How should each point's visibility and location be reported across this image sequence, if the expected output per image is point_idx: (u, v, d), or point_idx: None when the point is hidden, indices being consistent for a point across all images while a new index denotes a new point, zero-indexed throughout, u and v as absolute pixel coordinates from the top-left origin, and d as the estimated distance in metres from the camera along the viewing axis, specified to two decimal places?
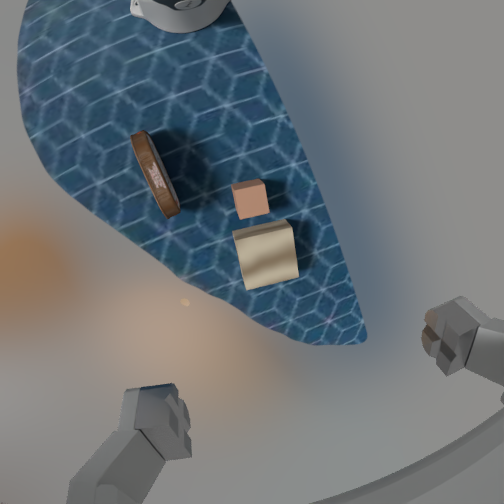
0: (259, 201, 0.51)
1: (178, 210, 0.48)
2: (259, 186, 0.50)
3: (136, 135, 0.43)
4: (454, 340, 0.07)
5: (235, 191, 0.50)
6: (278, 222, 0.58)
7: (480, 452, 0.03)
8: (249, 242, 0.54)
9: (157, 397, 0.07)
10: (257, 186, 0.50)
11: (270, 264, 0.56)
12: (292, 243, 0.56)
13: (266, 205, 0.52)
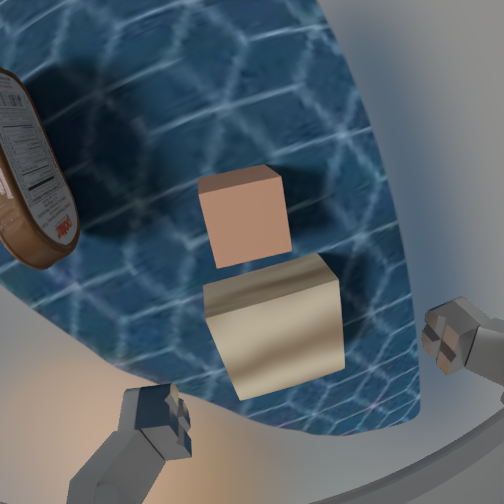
0: (266, 224, 0.20)
1: (57, 252, 0.16)
2: (267, 183, 0.19)
3: None
4: (454, 340, 0.07)
5: (202, 196, 0.18)
6: (303, 263, 0.26)
7: (480, 452, 0.03)
8: (239, 320, 0.23)
9: (157, 397, 0.07)
10: (262, 183, 0.19)
11: (287, 355, 0.25)
12: (337, 312, 0.24)
13: (284, 232, 0.20)
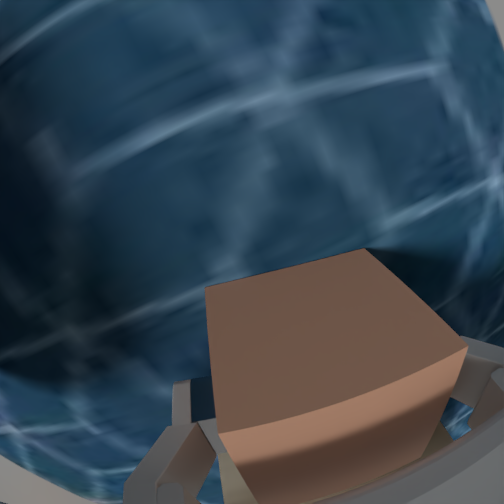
0: (395, 443, 0.06)
1: None
2: (433, 370, 0.05)
3: None
4: None
5: (230, 436, 0.05)
6: None
7: (480, 452, 0.03)
8: None
9: (211, 388, 0.08)
10: (421, 374, 0.05)
11: None
12: None
13: (422, 441, 0.06)
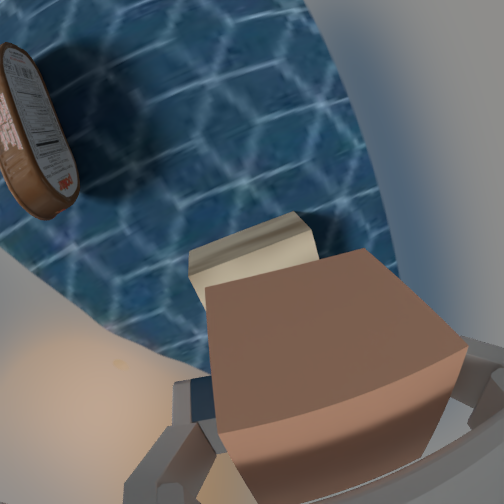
0: (395, 442, 0.06)
1: (58, 200, 0.18)
2: (434, 370, 0.05)
3: None
4: None
5: (230, 436, 0.05)
6: (280, 220, 0.27)
7: (480, 452, 0.03)
8: (220, 276, 0.24)
9: (211, 388, 0.08)
10: (421, 374, 0.05)
11: None
12: None
13: (422, 441, 0.06)
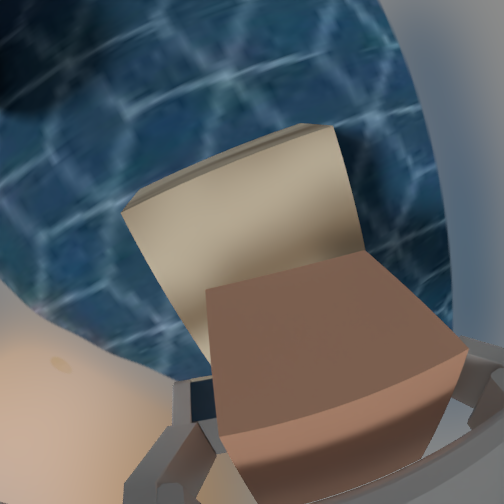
0: (395, 444, 0.06)
1: None
2: (434, 373, 0.05)
3: None
4: None
5: (231, 439, 0.05)
6: (280, 132, 0.16)
7: (480, 452, 0.03)
8: (175, 210, 0.13)
9: (212, 388, 0.08)
10: (422, 377, 0.05)
11: None
12: (344, 189, 0.14)
13: (423, 443, 0.06)
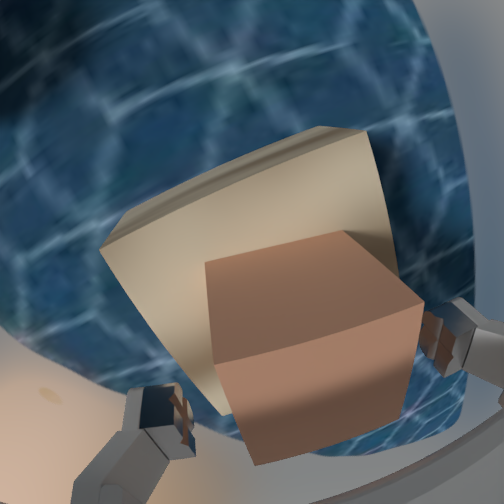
0: (369, 395, 0.08)
1: None
2: (393, 321, 0.07)
3: None
4: (451, 341, 0.07)
5: (224, 369, 0.06)
6: (296, 137, 0.13)
7: (480, 452, 0.03)
8: (167, 245, 0.10)
9: (161, 396, 0.07)
10: (382, 323, 0.07)
11: None
12: (379, 211, 0.11)
13: (397, 399, 0.08)
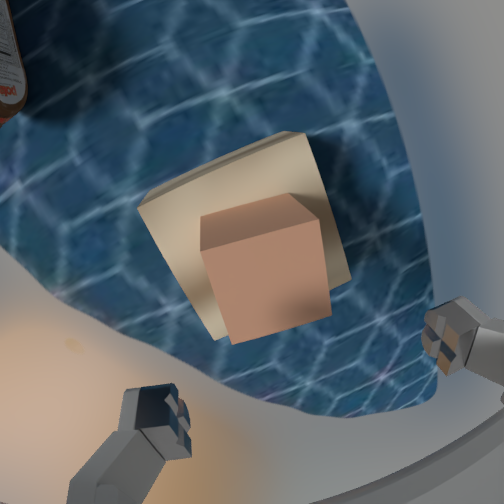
0: (299, 285, 0.14)
1: None
2: (299, 229, 0.13)
3: None
4: (454, 340, 0.07)
5: (205, 254, 0.13)
6: (265, 139, 0.20)
7: (480, 452, 0.03)
8: (181, 204, 0.17)
9: (157, 397, 0.07)
10: (292, 230, 0.13)
11: None
12: (317, 184, 0.17)
13: (323, 294, 0.14)
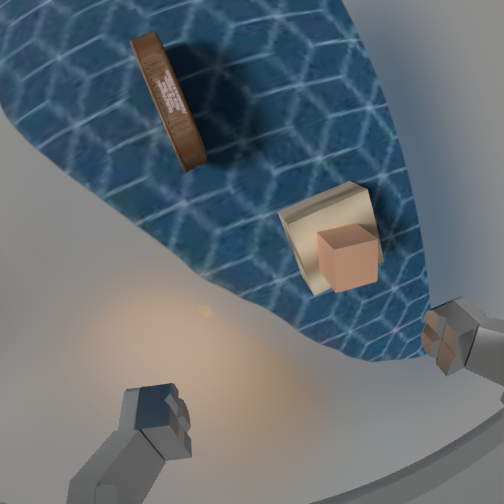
0: (366, 266, 0.31)
1: (204, 156, 0.28)
2: (370, 243, 0.30)
3: (140, 36, 0.22)
4: (454, 340, 0.07)
5: (335, 251, 0.30)
6: (342, 187, 0.37)
7: (480, 452, 0.03)
8: (309, 223, 0.34)
9: (157, 397, 0.07)
10: (368, 243, 0.30)
11: None
12: (371, 214, 0.35)
13: (375, 270, 0.32)
